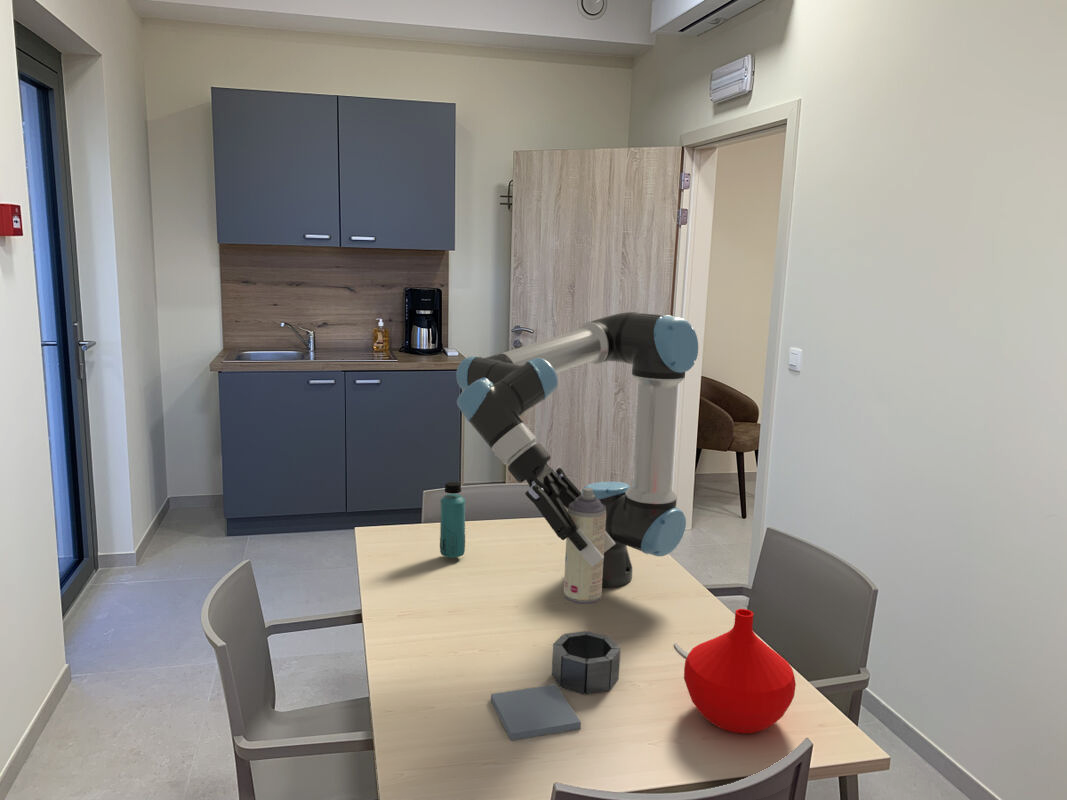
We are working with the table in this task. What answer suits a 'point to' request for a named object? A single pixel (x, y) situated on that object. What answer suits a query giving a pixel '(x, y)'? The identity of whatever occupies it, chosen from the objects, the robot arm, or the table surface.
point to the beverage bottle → (452, 522)
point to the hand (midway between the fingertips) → (603, 554)
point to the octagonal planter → (585, 662)
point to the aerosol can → (579, 575)
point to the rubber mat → (535, 712)
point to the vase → (739, 679)
